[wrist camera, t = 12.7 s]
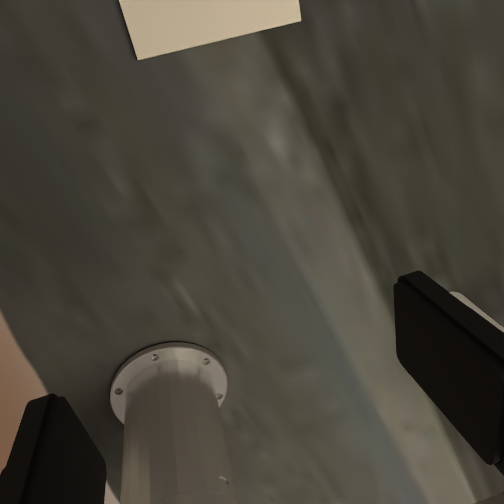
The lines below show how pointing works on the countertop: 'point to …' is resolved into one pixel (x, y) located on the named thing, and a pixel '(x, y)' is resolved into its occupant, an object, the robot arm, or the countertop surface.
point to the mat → (200, 21)
